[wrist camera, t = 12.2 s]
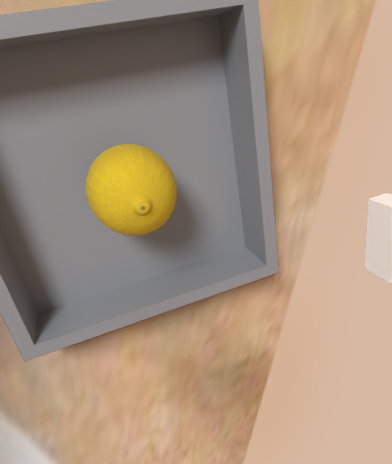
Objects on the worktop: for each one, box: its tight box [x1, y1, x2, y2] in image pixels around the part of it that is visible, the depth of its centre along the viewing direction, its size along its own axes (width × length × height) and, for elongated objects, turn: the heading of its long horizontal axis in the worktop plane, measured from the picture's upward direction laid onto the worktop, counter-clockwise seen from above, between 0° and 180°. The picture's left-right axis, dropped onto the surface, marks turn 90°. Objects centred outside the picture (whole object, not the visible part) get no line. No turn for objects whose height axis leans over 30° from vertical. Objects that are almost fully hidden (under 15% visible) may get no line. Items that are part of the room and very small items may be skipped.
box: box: [0, 0, 279, 361], centre depth 24 cm, size 20×20×4 cm
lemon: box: [86, 144, 177, 236], centre depth 22 cm, size 6×6×8 cm
